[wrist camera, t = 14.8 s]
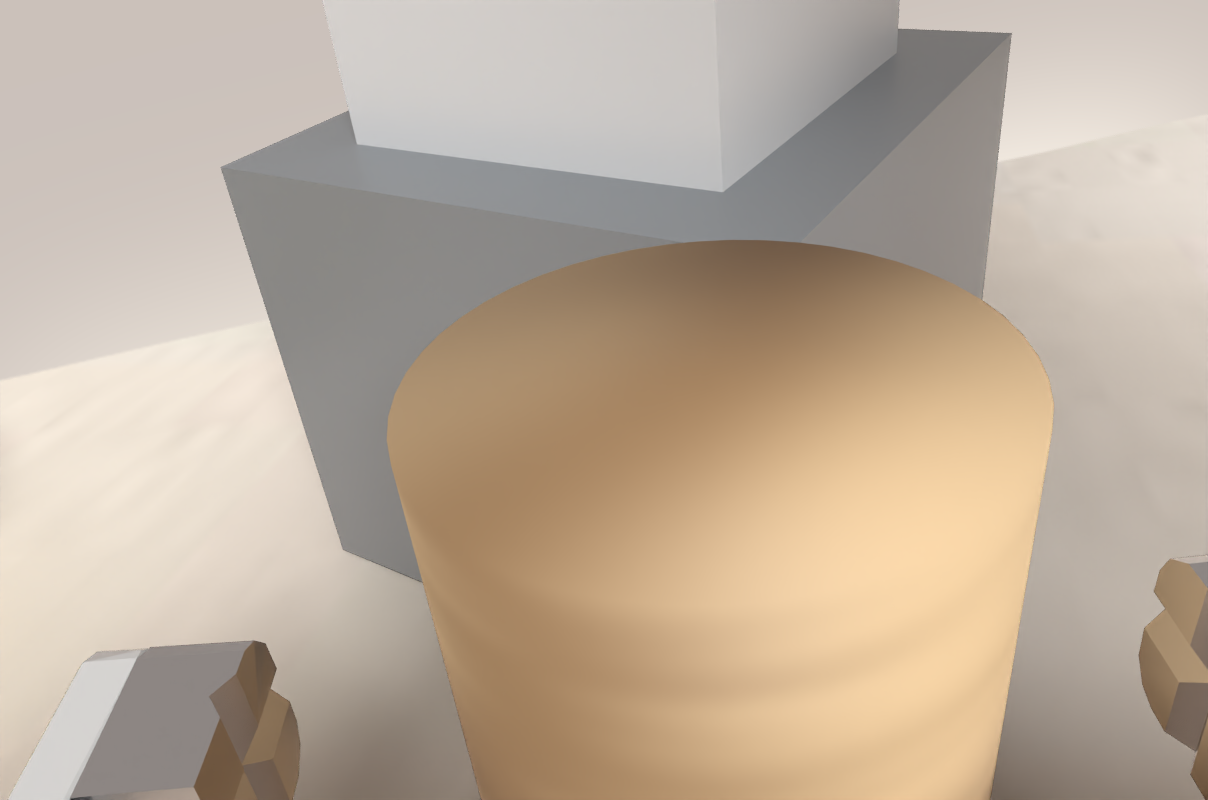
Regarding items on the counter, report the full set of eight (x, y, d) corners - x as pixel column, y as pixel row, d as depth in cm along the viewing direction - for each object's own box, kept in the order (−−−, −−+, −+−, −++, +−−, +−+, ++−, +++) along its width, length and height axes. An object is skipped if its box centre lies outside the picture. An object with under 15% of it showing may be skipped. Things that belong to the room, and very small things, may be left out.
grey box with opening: (969, 412, 28) (1029, -120, 21) (787, 733, 19) (781, 36, 12) (600, 330, 34) (548, -104, 27) (342, 549, 25) (170, 9, 18)
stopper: (997, 921, 16) (1120, 292, 10) (854, 1351, 12) (916, 732, 6) (668, 767, 19) (611, 211, 13) (467, 1069, 15) (246, 468, 9)
